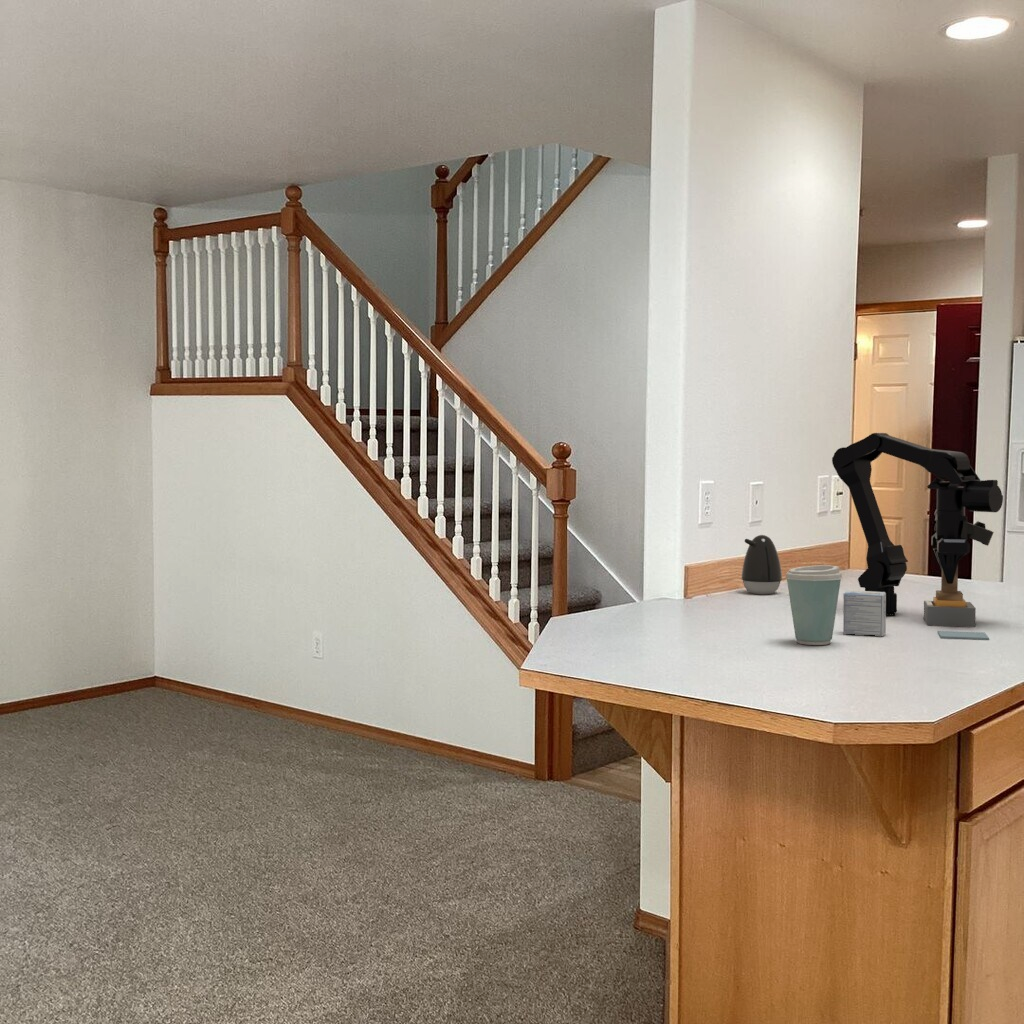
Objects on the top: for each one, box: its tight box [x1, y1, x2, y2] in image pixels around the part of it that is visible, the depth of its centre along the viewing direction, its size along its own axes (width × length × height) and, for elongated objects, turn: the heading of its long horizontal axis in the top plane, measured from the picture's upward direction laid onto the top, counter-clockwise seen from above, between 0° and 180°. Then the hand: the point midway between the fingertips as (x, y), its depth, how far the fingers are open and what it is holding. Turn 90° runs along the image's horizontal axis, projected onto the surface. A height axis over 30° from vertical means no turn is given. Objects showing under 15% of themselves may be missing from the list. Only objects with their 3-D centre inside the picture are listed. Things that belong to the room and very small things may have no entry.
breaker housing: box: [923, 600, 977, 628], centre depth 252 cm, size 10×10×4 cm
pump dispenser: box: [741, 534, 783, 596], centre depth 302 cm, size 10×10×15 cm
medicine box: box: [842, 590, 887, 637], centre depth 238 cm, size 8×4×9 cm, turn 65°
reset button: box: [932, 596, 967, 607], centre depth 252 cm, size 6×6×3 cm
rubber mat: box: [937, 630, 990, 641], centre depth 235 cm, size 9×7×1 cm
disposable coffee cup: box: [785, 564, 843, 646], centre depth 228 cm, size 11×11×15 cm
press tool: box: [935, 564, 964, 601], centre depth 252 cm, size 5×5×8 cm
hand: (949, 582), depth 252 cm, fingers closed on press tool, 3 cm apart
